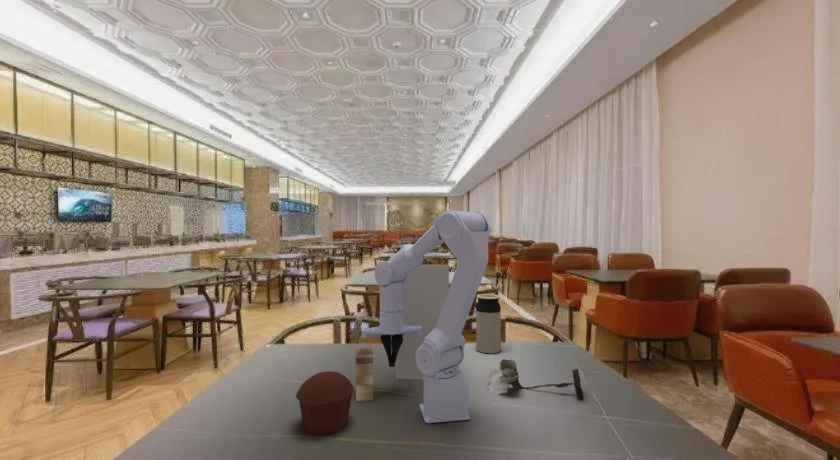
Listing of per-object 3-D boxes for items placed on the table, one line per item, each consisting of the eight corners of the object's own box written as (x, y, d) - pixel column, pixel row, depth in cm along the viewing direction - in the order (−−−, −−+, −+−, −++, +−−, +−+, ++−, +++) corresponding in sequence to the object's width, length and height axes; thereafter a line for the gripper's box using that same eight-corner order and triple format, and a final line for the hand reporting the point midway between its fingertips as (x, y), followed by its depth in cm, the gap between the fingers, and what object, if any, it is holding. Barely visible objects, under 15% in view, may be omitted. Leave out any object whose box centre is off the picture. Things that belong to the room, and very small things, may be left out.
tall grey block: (449, 372, 106) (448, 264, 106) (449, 380, 100) (448, 266, 101) (398, 371, 107) (398, 264, 107) (395, 378, 102) (395, 266, 102)
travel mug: (494, 355, 120) (493, 298, 120) (472, 351, 125) (471, 296, 125) (505, 349, 126) (504, 295, 126) (483, 345, 131) (483, 293, 131)
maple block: (372, 387, 96) (371, 348, 96) (373, 399, 89) (373, 356, 89) (356, 388, 95) (355, 348, 96) (355, 401, 89) (355, 358, 89)
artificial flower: (586, 411, 86) (581, 372, 84) (487, 408, 93) (480, 372, 91) (583, 386, 94) (578, 350, 92) (492, 384, 102) (485, 351, 99)
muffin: (332, 405, 86) (332, 361, 86) (365, 420, 79) (365, 372, 79) (284, 426, 77) (284, 377, 77) (317, 445, 70) (316, 391, 70)
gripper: (418, 305, 99) (418, 358, 99) (361, 308, 96) (361, 361, 96) (422, 311, 92) (423, 368, 92) (361, 313, 89) (361, 372, 89)
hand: (391, 365), depth 93 cm, fingers closed
